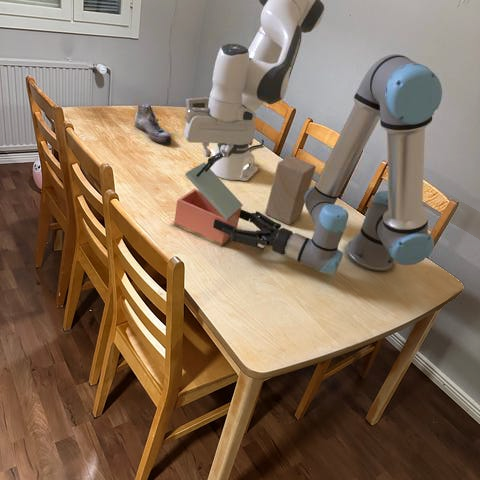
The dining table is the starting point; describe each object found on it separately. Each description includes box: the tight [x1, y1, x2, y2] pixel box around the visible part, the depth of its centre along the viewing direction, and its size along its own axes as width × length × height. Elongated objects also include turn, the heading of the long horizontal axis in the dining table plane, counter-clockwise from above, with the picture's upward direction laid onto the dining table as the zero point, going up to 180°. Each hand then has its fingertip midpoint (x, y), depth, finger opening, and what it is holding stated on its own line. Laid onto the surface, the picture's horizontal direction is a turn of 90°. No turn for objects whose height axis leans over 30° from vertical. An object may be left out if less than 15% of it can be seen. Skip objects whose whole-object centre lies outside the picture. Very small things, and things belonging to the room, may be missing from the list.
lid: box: [184, 152, 244, 220], centre depth 130 cm, size 18×10×9 cm, turn 65°
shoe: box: [134, 102, 172, 145], centre depth 194 cm, size 25×11×12 cm, turn 30°
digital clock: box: [185, 96, 210, 118], centre depth 224 cm, size 16×9×11 cm, turn 123°
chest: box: [173, 188, 242, 247], centre depth 137 cm, size 17×10×9 cm, turn 65°
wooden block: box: [264, 155, 317, 226], centre depth 152 cm, size 10×10×20 cm
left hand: (215, 156), depth 127 cm, fingers closed on lid, 4 cm apart
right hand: (223, 216), depth 135 cm, fingers closed on chest, 10 cm apart
